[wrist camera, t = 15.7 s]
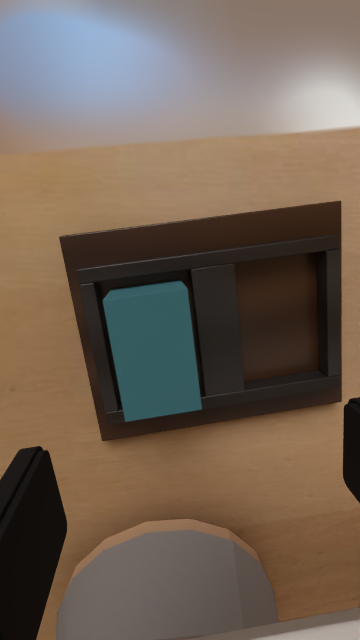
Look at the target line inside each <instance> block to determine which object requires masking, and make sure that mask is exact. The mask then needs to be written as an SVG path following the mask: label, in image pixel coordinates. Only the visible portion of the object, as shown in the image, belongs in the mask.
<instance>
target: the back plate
mask: <svg viewBox="0 0 360 640" xmlns="http://www.w3.org/2000/svg"><path fill="white" fill-rule="evenodd" d="M59 239H60V244H61V248H62V253H63V258H64V262H65V267H66V272H67V277H68V281H69V286H70V291H71V296H72V300H73V305H74V310H75V315H76V319H77V324H78V329H79V333H80V338H81V343H82V348H83V352H84V357H85V362H86V367H87V371H88V376H89V381H90V386H91V390H92V395H93V400H94V404H95V409H96V414H97V419H98V423H99V428H100V433H101V438H102V441H107V440H113V439H119V438H125V437H131V436H137V435H143V434H149V433H155V432H161V431H167V430H173V429H179V428H185V427H191V426H197V425H203V424H209V423H215V422H222V421H228V420H234V419H240V418H246V417H252V416H258V415H264V414H270V413H276V412H282V411H288V410H294V409H300V408H306V407H312V406H318V405H324V404H330V403H336V402H341V401H342V361H341V201H335V202H327V203H319V204H311V205H303V206H295V207H287V208H279V209H271V210H263V211H255V212H248V213H240V214H232V215H224V216H216V217H208V218H200V219H192V220H184V221H176V222H168V223H161V224H153V225H145V226H137V227H129V228H121V229H113V230H105V231H97V232H89V233H81V234H74V235H66V236H60V237H59ZM173 280H181V281H182V282H183V284H184V285H185V286H186V287H187V289H188V296H189V305H190V313H191V321H192V330H193V338H194V346H195V354H196V363H197V371H198V379H199V388H200V396H201V404H202V410H196V411H190V412H184V413H178V414H172V415H165V416H159V417H153V418H147V419H141V420H135V421H129V422H125V418H124V412H123V407H122V402H121V396H120V391H119V386H118V380H117V375H116V370H115V364H114V359H113V354H112V348H111V343H110V338H109V332H108V327H107V322H106V317H105V311H104V306H103V299H104V298H105V297H106V295H107V294H108V293H109V291H110V290H111V289H115V288H122V287H129V286H137V285H144V284H151V283H159V282H166V281H173Z"/></svg>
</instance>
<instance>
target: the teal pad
mask: <svg viewBox="0 0 360 640" xmlns="http://www.w3.org/2000/svg"><path fill="white" fill-rule="evenodd" d="M103 306H104V311H105V317H106V322H107V327H108V332H109V338H110V343H111V348H112V354H113V359H114V364H115V370H116V375H117V380H118V386H119V391H120V396H121V402H122V407H123V412H124V418H125V422H129V421H135V420H141V419H147V418H153V417H159V416H165V415H172V414H178V413H184V412H190V411H196V410H202V404H201V396H200V388H199V379H198V371H197V363H196V354H195V346H194V338H193V330H192V321H191V313H190V305H189V296H188V289H187V287H186V286H185V285H184V284H183V282H182V281H181V280H173V281H166V282H159V283H151V284H144V285H137V286H129V287H122V288H115V289H111V290H110V291H109V293H108V294H107V295H106V297H105V298H104V299H103Z"/></svg>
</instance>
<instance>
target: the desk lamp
mask: <svg viewBox="0 0 360 640" xmlns="http://www.w3.org/2000/svg"><path fill="white" fill-rule="evenodd" d="M278 622H279V620H278V614H277V607H276V601H275V595H274V591H273V589H272V586H271V584H270V582H269V580H268V577H267V575H266V573H265V571H264V568H263V566H262V564H261V562H260V560H259V558H258V555H257V553H256V551H255V550H254V549H253V548H251V547H250V546H249V545H248V544H246V543H245V542H244V541H243V540H241V539H240V538H239V537H238V536H236V535H235V534H234V533H232V532H231V531H230V530H229V529H226V528H222V527H219V526H215V525H211V524H208V523H204V522H201V521H197V520H193V519H176V520H161V521H147V522H144V523H142V524H139V525H137V526H134V527H132V528H130V529H127V530H125V531H122V532H120V533H117V534H115V535H113V536H110V537H108V538H106V539H105V540H104V541H102V542H101V543H100V544H99V545H98V546H97V547H96V548H95V549H94V550H93V551H91V552H90V553H89V554H88V555H87V556H86V557H85V558H84V559H83V560H82V561H81V562H79V563H78V564H77V565H76V568H75V570H74V572H73V574H72V577H71V579H70V581H69V584H68V586H67V588H66V591H65V593H64V595H63V599H62V603H61V605H60V607H59V610H58V612H57V627H56V640H188V639H193V638H198V637H203V636H209V635H214V634H219V633H225V632H230V631H235V630H240V629H246V628H251V627H256V626H262V625H267V624H272V623H278Z"/></svg>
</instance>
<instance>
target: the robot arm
mask: <svg viewBox="0 0 360 640" xmlns="http://www.w3.org/2000/svg"><path fill="white" fill-rule="evenodd" d="M343 478H344V481H345V484H346V486H347V487H348V489H349V490H350V491H351V492H352V494H353V495H354V496H355V498H356V499H357V500H358V501H359V503H360V397H359V398H352V399H350V400H349V402H348V404H346V405H345V406H344V438H343ZM66 533H67V520H66V516H65V512H64V508H63V504H62V501H61V497H60V493H59V489H58V485H57V481H56V477H55V473H54V469H53V466H52V462H51V458H50V454H49V452H48V451H47V450H44V451H43V449H42V447H40V446H38V447H31V448H25V449H20V450H19V451H18V453H17V454H16V456H15V457H14V459H13V461H12V462H11V464H10V465H9V467H8V469H7V470H6V472H5V473H4V475H3V477H2V478H1V480H0V640H36V638H37V634H38V631H39V627H40V624H41V620H42V617H43V613H44V610H45V606H46V603H47V599H48V596H49V593H50V589H51V586H52V582H53V579H54V575H55V572H56V568H57V565H58V561H59V558H60V554H61V551H62V547H63V544H64V540H65V537H66ZM188 640H360V607H359V608H354V609H348V610H343V611H337V612H332V613H326V614H321V615H315V616H310V617H305V618H299V619H294V620H289V621H283V622H278V623H272V624H267V625H262V626H256V627H251V628H246V629H240V630H235V631H230V632H225V633H219V634H214V635H209V636H203V637H198V638H193V639H188Z"/></svg>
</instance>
